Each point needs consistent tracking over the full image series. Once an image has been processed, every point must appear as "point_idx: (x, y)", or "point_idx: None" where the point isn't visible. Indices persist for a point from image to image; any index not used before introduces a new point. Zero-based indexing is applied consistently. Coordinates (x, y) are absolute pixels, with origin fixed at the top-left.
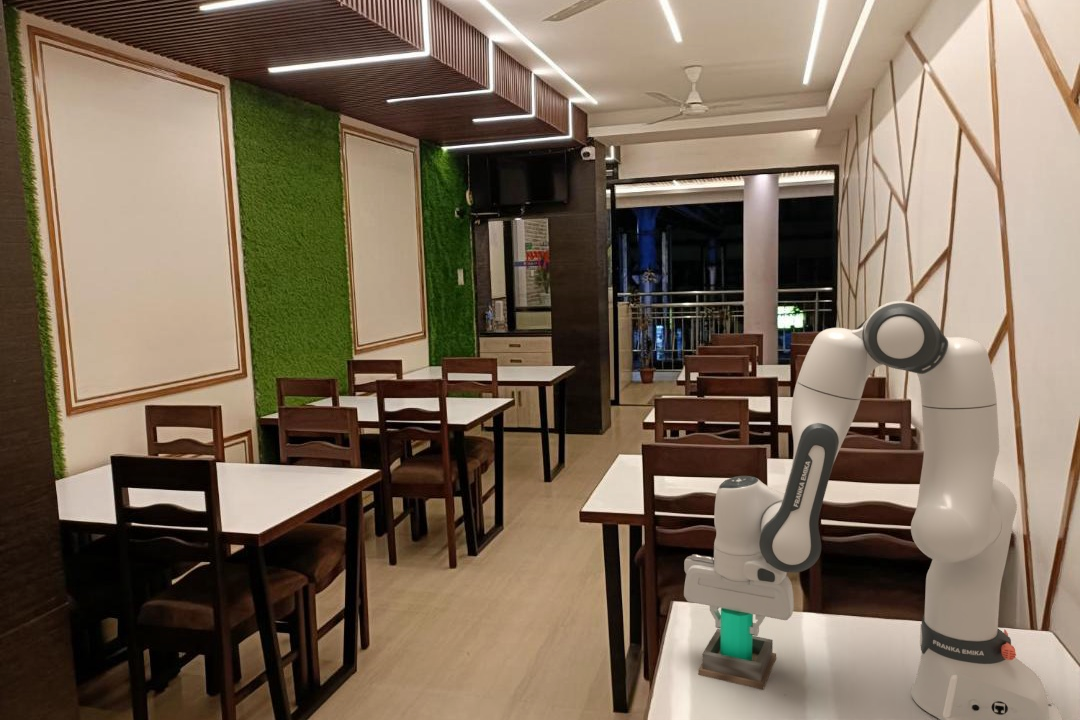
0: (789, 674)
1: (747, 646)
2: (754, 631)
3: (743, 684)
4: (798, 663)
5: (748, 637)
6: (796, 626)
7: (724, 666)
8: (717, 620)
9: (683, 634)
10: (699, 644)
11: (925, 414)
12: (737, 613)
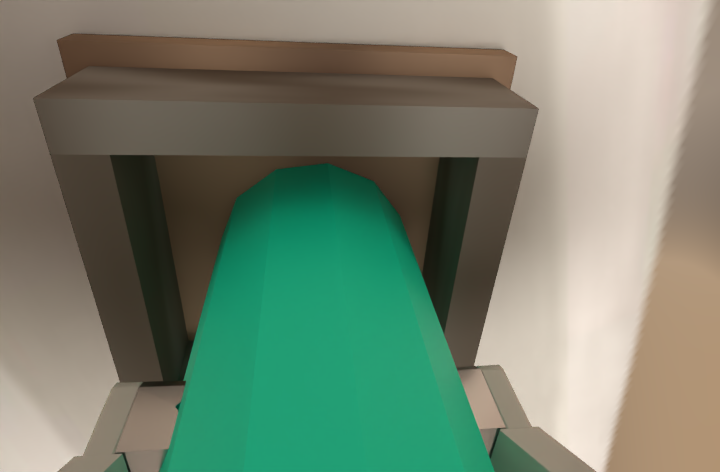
0: (23, 259)
1: (212, 286)
2: (127, 414)
3: (210, 39)
4: (38, 360)
5: (196, 348)
6: None
7: (350, 86)
8: (509, 423)
9: (586, 364)
10: (514, 325)
11: None
12: None
